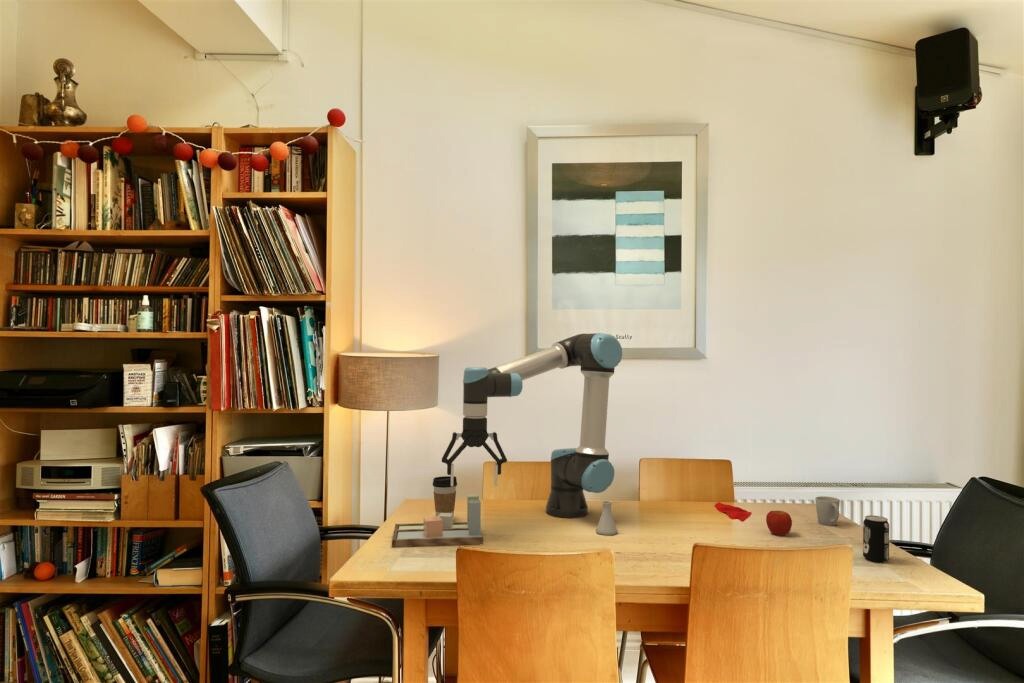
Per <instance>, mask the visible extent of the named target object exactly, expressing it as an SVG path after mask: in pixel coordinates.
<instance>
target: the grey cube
mask: <svg viewBox="0 0 1024 683" xmlns="http://www.w3.org/2000/svg"><path fill="white" fill-rule="evenodd" d="M438 516H440V517H441V519H442V520H443V528H452V526H453V522H454V518H453V513H440V514H439V515H438Z"/></svg>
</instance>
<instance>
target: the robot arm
mask: <svg viewBox="0 0 1024 683" xmlns="http://www.w3.org/2000/svg"><path fill="white" fill-rule="evenodd" d="M622 357H623V348H622V345H621V343H620V341H619V340H618V338H616V337H615V336H614V335H612V334H609V333H603V332H597V333H578V334H575V335H573V336H570V337H567V338H565V339H562V340H560V341H557V342H554V343H553V344H551V346H550V347H548V348H546V349H543V350H540V351H538V352H534V353H531V354H529V355H525V356H522V357H519V358H517V359H513V360H511V361H508V362H506V363H502V364H499V365H497V366H494V367H491V368H489V369H488V368H487V367H486V366H469V367H468V366H467V367H465V368H464V370H463V380H462V383H463V391H462V394H463V395H462V396H463V397H462V400H463V402H462V415H463V416H464V417H463V418H462V432H460V433H459V432H456V431H453V432H452V436H451V440H450V442H449V444H448V446H447V448H446V450H445V452H444V453H443V455H442V457H441V462H442V463H443V464H446V466H447V468H446V474H447V476H451V486H453V476H454V468H455V466H454V465H455V464H454V463H453V462H454V461H455V460H456V459H457V458H458V456H460V454H461V453H462V452H463V451H464V450H465V448H467V447H469V448H474V447H475V448H481V447H483V448H484V449H485V450H486V452H487V453H488V454H489V455H490V457H492V459H493V460H494V461H495V462H496V463H495V462H494V469H493V470H494V474H493V475H494V477H493V478H494V482H493V485H494V487H497V486H498V481H499V480H498V478H499V476H498V475H501V474H502V464H505V463H507V462H508V459H507V456H506V455H505V453H504V451H503V448H502V446H501V444H500V442H499V439H498V434H497V432H495V431H493V432H488V418H487V416H488V400H489V399H488V398H506V397H507V398H512V397H518V396H519V395H521V393H522V392H523V386H524V385H523V381H525V380H527V379H531V378H533V377H536V376H538V375H541V374H544V373H547V372H549V371H553V370H554V369H558V368H559V369H561V370H563V369H566V368H569V367H580V373H581V374H582V375H583V376H584V381H583V391H582V392H583V394H582V409H581V410H582V411H581V422H580V423H581V425H580V438H579V446H578V447H573V448H572V447H571V448H559V449H558V448H557V449H554V450H552V451H551V454H550V492H549V496H548V499H547V502H546V505H545V513H546V514H547V515H549V516H553V517H556V518H564V519H565V518H566V519H567V518H570V519H571V518H581V517H585V516H587V515H588V513H589V507H588V503H587V500H586V496H585V493H584V491H585V492H588V493H594V494H599V493H603V492H605V491H606V490H607V489H608V488H609V487H610V486H611V485H612V484H613V482H614V479H615V468H614V465H613V464H612V462H611V461H609V457H610V456H609V455H610V453H609V451H608V450H607V449H606V435H607V420H608V419H607V418H608V406H609V405H608V404H609V388H610V378H612V376H613V375H615V369H616V367H617V366H618V365H619V364H620V363H621V361H622ZM460 438H461V439H462V440H463V441H462V443H461V444H460V445H459V446H458V448H457V449H456V450H455V451H454V452H453V454H452V455H451V456H450V457H449V455H450V453H451V452H452V450H453V448H454V446H455V444H456V443H457V441H458V440H459V439H460ZM488 438H490V440H492V441H493V443H494V445H495V447H496V448H497V452H498V453H499V455H500V457H501V458H499V457H498V455H497V454H496V453H495V452H494V450H493V449H492V448H491V447H490V446H489V444H488V443H487V442H486V441H487V440H488ZM448 457H449V458H448Z"/></svg>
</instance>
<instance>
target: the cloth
mask: <svg viewBox="0 0 1024 683" xmlns="http://www.w3.org/2000/svg"><path fill="white" fill-rule="evenodd" d="M714 508H715V509H716V510H717V511H718V512H719V513H723V514H724V513H726V514H727V515H728V517H729V519H730V520H736V519H737V520H738V521H740V522H744V521H746V520H747V519H749V518H750V517H751V515H752V514H753V513H752V511H748V510H746V509H743V508H741V507H739V506H734V505H731V504H726V503H722V502H720V501H718V502H717V503H715V504H714Z"/></svg>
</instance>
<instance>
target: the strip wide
mask: <svg viewBox="0 0 1024 683" xmlns="http://www.w3.org/2000/svg"><path fill="white" fill-rule="evenodd" d="M481 503H482V502H481V500H480V499H479V500H469V530H454V531H443V537H431V538H450V537H483V536H482V533H481V529H482V528H481V527H482V526H481V523H482V522H481V521H482V520H481V518H482V517H481V516H482V514H481V510H482V509H481V508H482V507H481V506H482V504H481ZM414 538H426V537H425V535H424V531H417V532H398V536H397V539H414Z"/></svg>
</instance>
